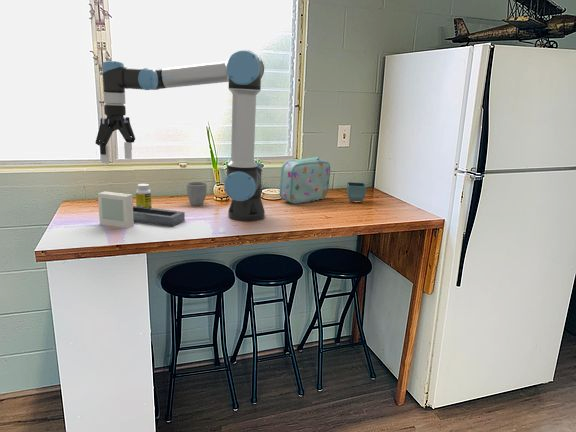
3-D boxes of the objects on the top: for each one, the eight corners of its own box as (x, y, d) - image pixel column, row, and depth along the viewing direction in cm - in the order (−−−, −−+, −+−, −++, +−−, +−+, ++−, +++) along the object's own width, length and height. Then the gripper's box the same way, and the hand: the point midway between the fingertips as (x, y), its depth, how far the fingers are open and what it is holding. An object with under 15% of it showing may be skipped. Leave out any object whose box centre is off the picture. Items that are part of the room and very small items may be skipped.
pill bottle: (147, 212, 196) (146, 186, 193) (133, 211, 197) (132, 185, 194) (154, 209, 202) (153, 183, 199) (141, 207, 203) (140, 182, 200)
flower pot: (365, 204, 227) (367, 186, 225) (347, 203, 227) (348, 185, 225) (363, 200, 235) (364, 182, 233) (345, 199, 235) (346, 182, 233)
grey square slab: (133, 225, 178) (132, 194, 175) (127, 228, 174) (125, 196, 171) (106, 221, 181) (104, 191, 178) (99, 224, 177) (97, 193, 174)
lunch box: (315, 195, 242) (318, 154, 236) (330, 199, 234) (333, 156, 229) (276, 202, 224) (278, 157, 219) (291, 206, 217) (293, 160, 211)
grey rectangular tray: (184, 220, 187) (184, 212, 186) (172, 226, 178) (172, 217, 177) (132, 213, 193) (131, 205, 192) (117, 219, 184) (117, 210, 183)
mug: (209, 205, 212) (209, 184, 209) (190, 207, 207) (190, 186, 205) (200, 200, 222) (200, 179, 219) (182, 201, 218) (182, 180, 215)
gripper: (127, 103, 188) (129, 156, 193) (82, 104, 165) (86, 164, 170) (143, 104, 186) (144, 158, 191) (100, 105, 163) (103, 166, 168)
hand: (117, 161), depth 181 cm, fingers open, 13 cm apart
